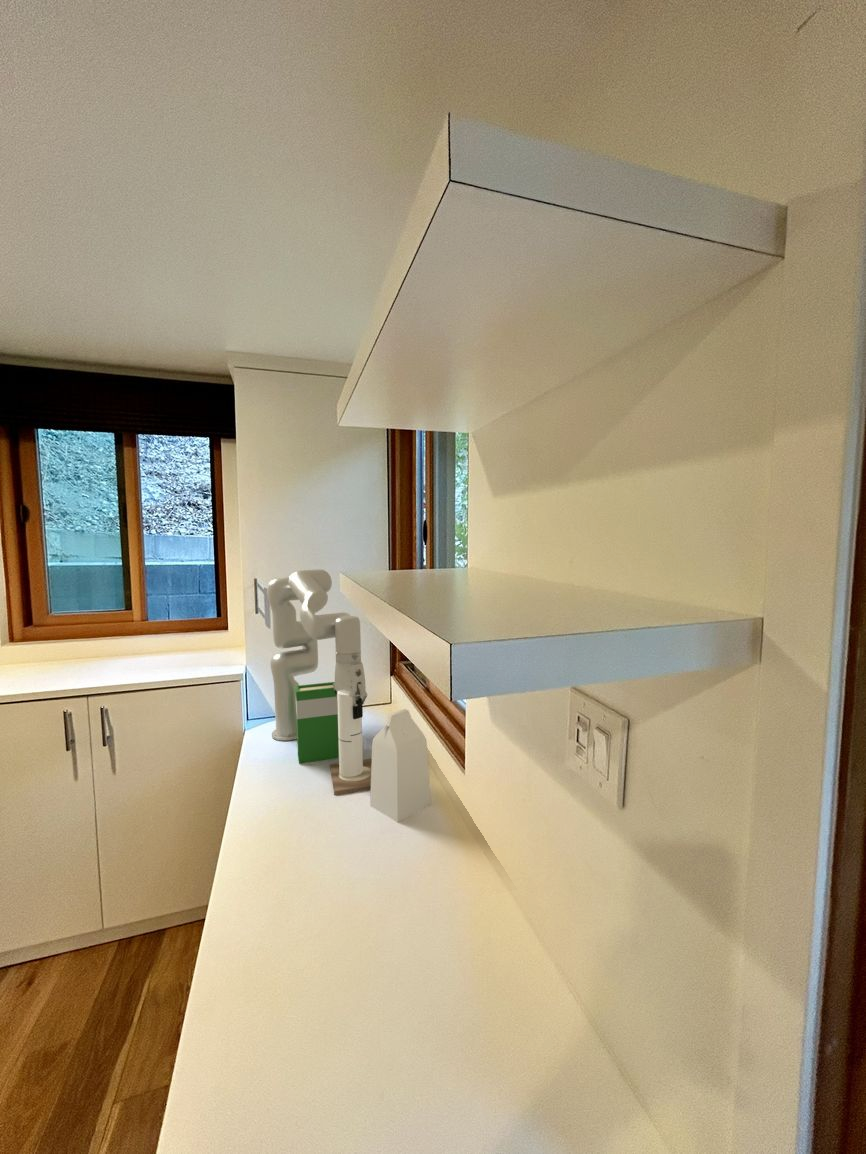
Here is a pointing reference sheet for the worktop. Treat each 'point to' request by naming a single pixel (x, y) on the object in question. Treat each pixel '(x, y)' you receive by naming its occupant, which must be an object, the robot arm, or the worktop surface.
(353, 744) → the cylindrical container
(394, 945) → the worktop surface
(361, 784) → the walnut board
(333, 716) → the hardback book
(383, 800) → the milk
